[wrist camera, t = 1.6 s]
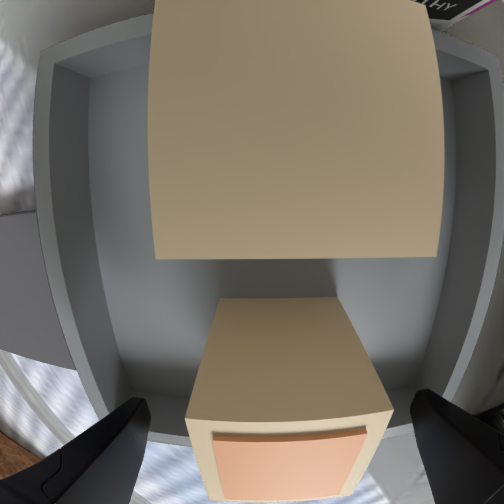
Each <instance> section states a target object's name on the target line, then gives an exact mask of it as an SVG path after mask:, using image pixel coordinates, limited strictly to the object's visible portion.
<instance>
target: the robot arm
mask: <svg viewBox="0 0 504 504" xmlns="http://www.w3.org/2000/svg"><path fill="white" fill-rule="evenodd" d="M410 416H411V420H412V424H413V428H414V433H415V437H416V442H417V446H418V449H419V453H420V456H421V459H422V462H423V465H424V468H425V471H426V474H427V477H428V481H429V484H430V487H431V491H432V494H433V498H434V501H435V504H504V405H502V406H500V407H498V408H495V409H493V410H491V411H488V412H486V413H484V414H481V415H479V416H476V417H474V416H472V415H471V414H469V413H467V412H466V411H464V410H462V409H461V408H459V407H458V406H456V405H454V404H453V403H451V402H450V401H448V400H446V399H445V398H443V397H442V396H440V395H438V394H437V393H435V392H434V391H432V390H430V389H428V388H425V389H420V390H418V391H417V392H416V393H415V396H414V398H413V400H412V403H411V405H410ZM150 422H151V413H150V410H149V407H148V404H147V401H146V399H145V398H143V397H137V396H133V397H131V398H130V399H128V400H127V401H126V402H124V403H123V404H122V405H120V406H119V407H118V408H116V409H115V410H113V411H112V412H111V413H109V414H108V415H107V416H105V417H104V418H102V419H101V420H100V421H98V422H97V423H95V424H94V425H93V426H91V427H90V428H88V429H87V430H86V431H84V432H83V433H81V434H80V435H78V436H77V437H76V438H74V439H73V440H71V441H70V442H68V443H67V444H66V445H64V446H63V447H61V449H58V450H57V451H55V452H54V453H52V454H51V455H49V456H47V457H46V458H44V459H43V460H41V461H39V462H37V463H35V464H33V465H32V466H30V467H28V468H25V469H23V470H21V471H19V472H17V473H15V474H13V475H11V476H9V477H6V478H3V479H0V504H129V502H130V499H131V496H132V493H133V489H134V486H135V483H136V480H137V477H138V473H139V470H140V467H141V464H142V461H143V457H144V453H145V448H146V443H147V438H148V432H149V427H150Z"/></svg>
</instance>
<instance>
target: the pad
mask: <svg viewBox="0 0 504 504" xmlns="http://www.w3.org/2000/svg"><path fill="white" fill-rule="evenodd" d="M0 349H2V350H5V351H8V352H11V353H14V354H17V355H20V356H23V357H26V358H30V359H33V360H37V361H40V362H44V363H48V364H51V365H55V366H59V367H63V368H68V369H72V370H76V367H75V365H74V362H73V359H72V357H71V354H70V351H69V348H68V345H67V343H66V340H65V337H64V334H63V331H62V327H61V324H60V321H59V318H58V314H57V311H56V307H55V304H54V300H53V296H52V292H51V288H50V284H49V280H48V275H47V271H46V266H45V261H44V256H43V251H42V245H41V239H40V233H39V226H38V218H37V210H32V211H25V212H17V213H10V214H4V215H0Z"/></svg>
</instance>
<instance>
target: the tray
mask: <svg viewBox="0 0 504 504" xmlns="http://www.w3.org/2000/svg"><path fill="white" fill-rule="evenodd" d="M153 14H154V13H151V14H146V15H142V16H138V17H134V18H130V19H126V20H123V21H119V22H116V23H112V24H109V25H106V26H103V27H100V28H97V29H94V30H91V31H88V32H85V33H83V34H80V35H77V36H75V37H72V38H70V39H67V40H65V41H62V42H60V43H58V44H55V45H53V46H51V47H49V48H46V49H44V50H42V51H41V53H40V59H39V65H38V72H37V80H36V89H35V100H34V116H33V173H34V189H35V200H36V210H37V218H38V226H39V233H40V239H41V245H42V251H43V256H44V261H45V266H46V271H47V275H48V280H49V284H50V288H51V292H52V296H53V300H54V304H55V307H56V311H57V314H58V318H59V321H60V324H61V327H62V331H63V334H64V337H65V340H66V343H67V345H68V348H69V351H70V354H71V357H72V359H73V362H74V365H75V367H76V370H77V372H78V375H79V377H80V379H81V382H82V384H83V387H84V389H85V391H86V393H87V396H88V398H89V400H90V402H91V404H92V406H93V409H94V411H95V413H96V415H97V417H98V419H99V421H100V420H101V419H102V418H104V417H105V416H107V415H108V414H109V413H111V412H112V411H113V410H115V409H116V408H118V407H119V406H120V405H122V404H123V403H124V402H126V401H127V400H128V399H130V398H131V397H133V396H137V397H143V398H145V399H146V401H147V404H148V407H149V410H150V413H151V422H150V427H149V432H148V438H147V441H152V442H158V443H165V444H172V445H179V446H187V447H192V443H191V440H190V436H189V433H188V429H187V425H186V421H185V415H186V412H187V408H188V405H189V401H190V398H191V394H192V390H193V387H194V383H195V380H196V376H197V373H198V369H199V366H200V363H201V359H202V356H203V352H204V349H205V345H206V342H207V338H208V335H209V332H210V328H211V325H212V321H213V318H214V315H215V311H216V308H217V305H218V301H219V298H313V297H338V298H339V300H340V302H341V304H342V306H343V308H344V310H345V311H346V313H347V315H348V317H349V319H350V321H351V323H352V325H353V327H354V329H355V331H356V332H357V334H358V336H359V338H360V340H361V342H362V344H363V346H364V348H365V350H366V352H367V354H368V356H369V358H370V360H371V362H372V364H373V366H374V368H375V370H376V372H377V374H378V376H379V379H380V381H381V383H382V385H383V387H384V389H385V391H386V393H387V395H388V397H389V400H390V402H391V404H392V406H393V408H394V411H393V414H392V416H391V418H390V421H389V423H388V425H387V428H386V430H385V432H384V434H383V436H382V439H385V438H390V437H394V436H399V435H403V434H407V433H411V432H414V428H413V424H412V420H411V416H410V405H411V403H412V400H413V398H414V396H415V393H416V392H417V391H418V390H420V389H425V388H428V389H430V390H432V391H434V392H435V393H437V394H438V395H440V396H442V397H443V398H445V399H446V400H448V401H450V402H451V401H452V399H453V397H454V395H455V393H456V391H457V389H458V386H459V384H460V382H461V380H462V378H463V375H464V373H465V371H466V368H467V366H468V364H469V361H470V359H471V356H472V354H473V351H474V348H475V346H476V343H477V340H478V337H479V334H480V332H481V329H482V326H483V322H484V319H485V316H486V313H487V309H488V306H489V302H490V299H491V295H492V291H493V287H494V283H495V279H496V275H497V270H498V265H499V260H500V255H501V249H502V243H503V237H504V84H503V78H502V72H501V67H500V62H499V57H497V56H495V55H493V54H491V53H489V52H487V51H485V50H483V49H481V48H479V47H477V46H475V45H472V44H470V43H468V42H466V41H463V40H461V39H458V38H456V37H453V36H451V35H448V34H446V33H443V32H440V31H437V30H435V29H432V28H431V30H432V35H433V40H434V45H435V50H436V56H437V62H438V69H439V76H440V85H441V94H442V105H443V120H444V189H443V204H442V216H441V226H440V235H439V242H438V250H437V256H436V257H401V258H321V259H156V258H155V249H154V240H153V229H152V217H151V204H150V188H149V167H148V80H149V60H150V46H151V34H152V23H153Z"/></svg>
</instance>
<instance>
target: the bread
mask: <svg viewBox="0 0 504 504" xmlns="http://www.w3.org/2000/svg"><path fill="white" fill-rule="evenodd" d="M39 461H41V459H39V458H38V457H36V456H35V455H33V454H32V453H30V452H28V451H27V450H25V449H24V448H22V447H21V446H19V445H18V444H16V443H15V442H13V441H12V440H10V439H9V438H7V437H6V436H5V435H3V434H2V433H0V479H3V478H6V477H9V476H11V475H13V474H15V473H17V472H19V471H21V470H23V469H25V468H28V467H30V466H32V465H33V464H35V463H37V462H39Z"/></svg>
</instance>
